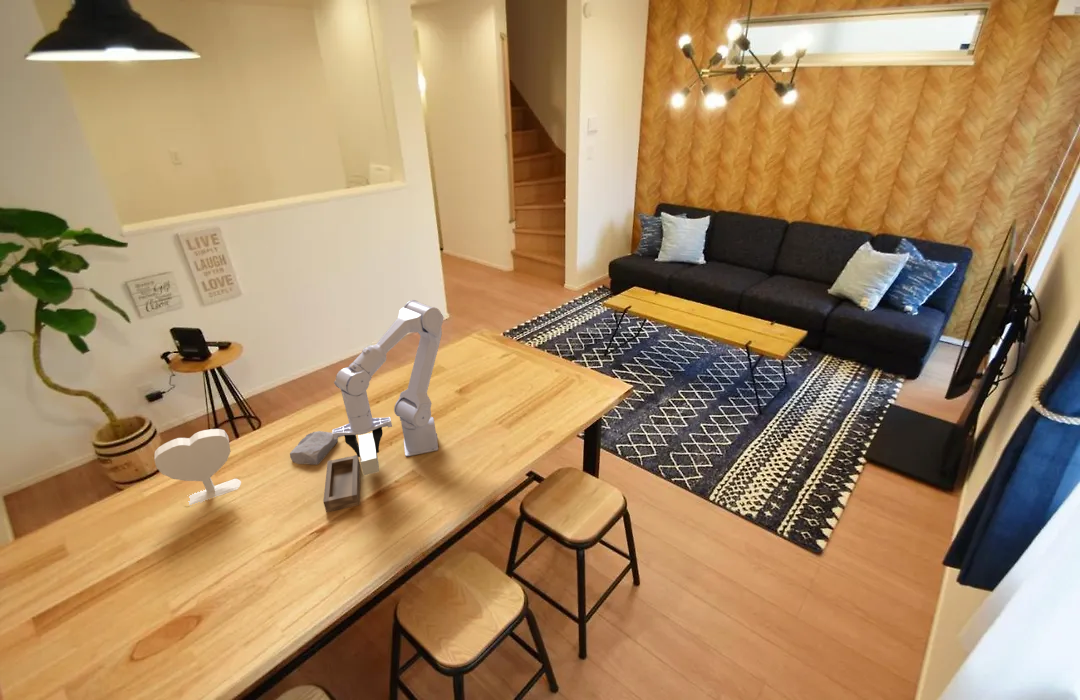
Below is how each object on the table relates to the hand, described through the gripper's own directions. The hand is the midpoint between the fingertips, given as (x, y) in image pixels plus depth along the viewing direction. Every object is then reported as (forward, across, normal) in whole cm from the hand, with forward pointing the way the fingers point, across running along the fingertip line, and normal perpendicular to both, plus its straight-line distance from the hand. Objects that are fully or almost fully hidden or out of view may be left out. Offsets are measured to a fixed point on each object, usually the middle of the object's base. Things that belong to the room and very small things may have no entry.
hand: (368, 452), depth 131 cm
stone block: (+8, +16, -17) cm, 25 cm away
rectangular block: (+3, 0, 0) cm, 3 cm away
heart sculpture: (+8, +41, -9) cm, 42 cm away
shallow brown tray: (+8, +8, +2) cm, 11 cm away
